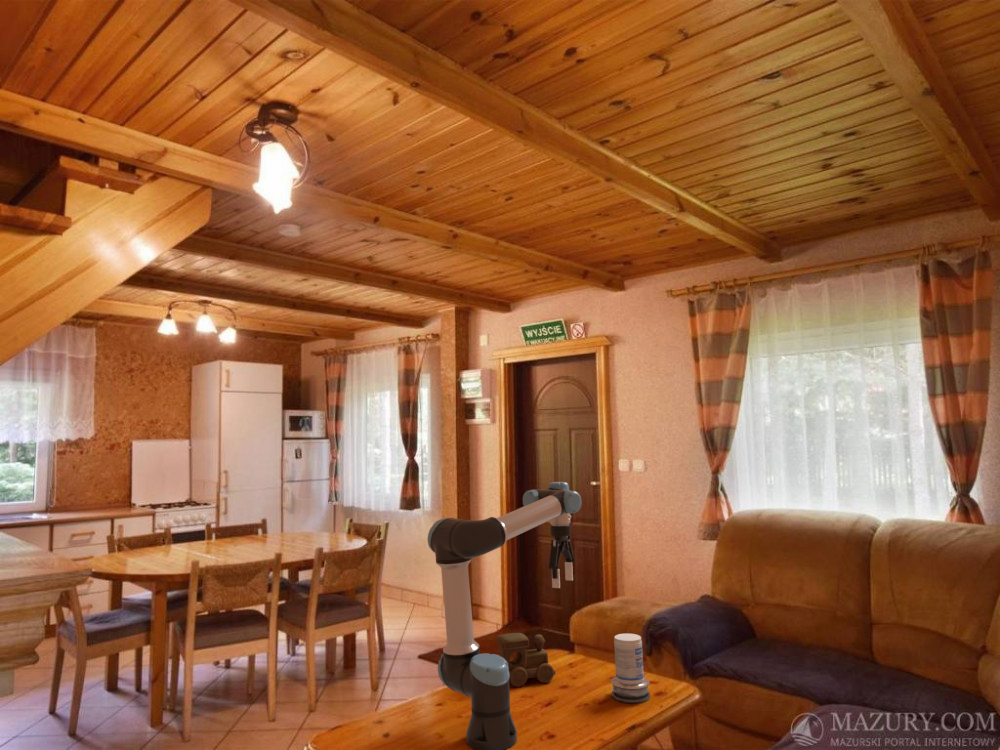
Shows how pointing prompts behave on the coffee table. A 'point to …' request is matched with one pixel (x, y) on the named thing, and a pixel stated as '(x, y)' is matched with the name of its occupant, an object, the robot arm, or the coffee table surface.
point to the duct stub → (630, 692)
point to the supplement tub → (628, 659)
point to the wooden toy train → (525, 658)
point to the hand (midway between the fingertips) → (562, 584)
